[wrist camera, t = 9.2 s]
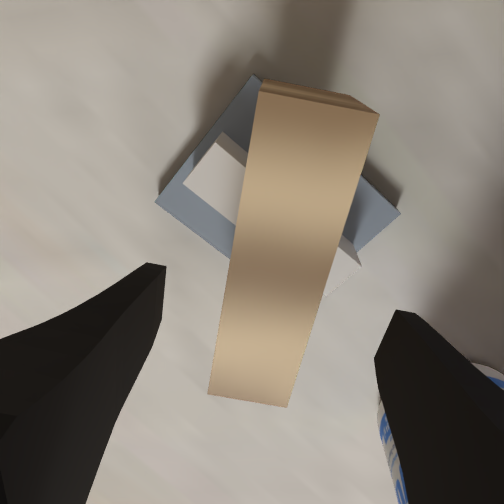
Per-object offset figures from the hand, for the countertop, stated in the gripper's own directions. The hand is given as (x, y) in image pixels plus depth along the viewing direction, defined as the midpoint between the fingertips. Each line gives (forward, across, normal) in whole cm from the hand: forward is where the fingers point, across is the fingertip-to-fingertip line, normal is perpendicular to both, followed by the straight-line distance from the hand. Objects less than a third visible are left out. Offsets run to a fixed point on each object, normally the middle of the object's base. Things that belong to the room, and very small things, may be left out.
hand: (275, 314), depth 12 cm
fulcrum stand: (+10, 0, 0) cm, 10 cm away
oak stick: (+7, 0, 0) cm, 7 cm away
